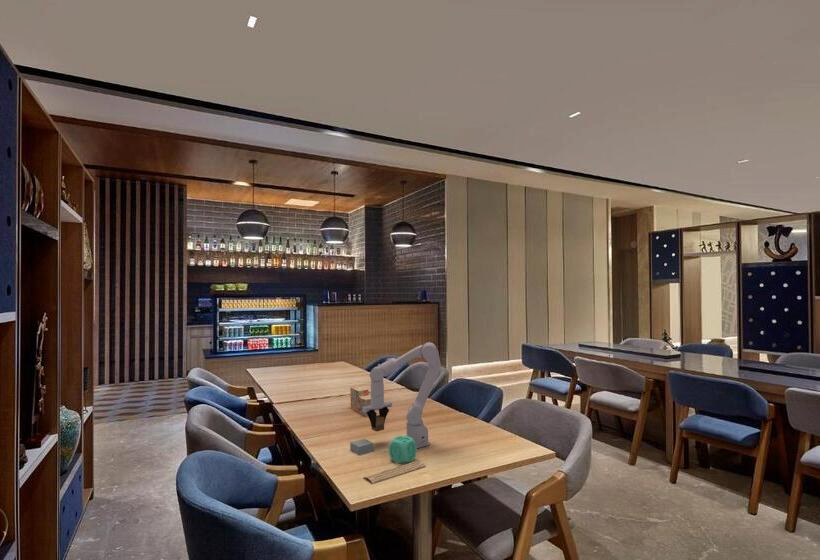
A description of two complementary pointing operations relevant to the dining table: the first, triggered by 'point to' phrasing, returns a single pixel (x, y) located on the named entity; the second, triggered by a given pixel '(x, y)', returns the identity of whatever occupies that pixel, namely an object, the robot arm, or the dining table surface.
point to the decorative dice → (402, 449)
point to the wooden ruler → (395, 472)
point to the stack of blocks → (359, 399)
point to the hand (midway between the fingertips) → (377, 426)
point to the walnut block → (379, 423)
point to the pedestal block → (361, 446)
